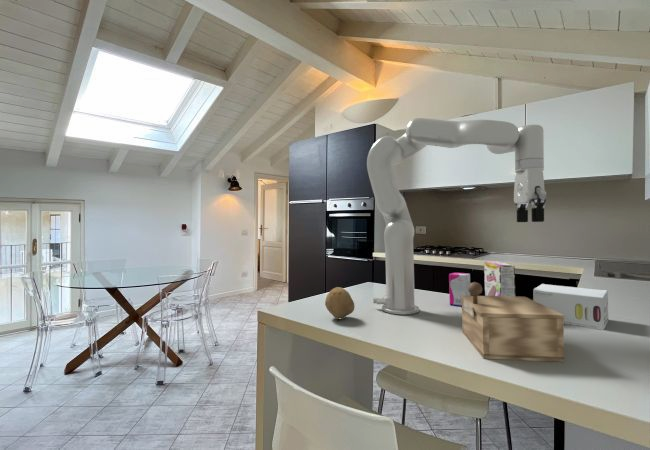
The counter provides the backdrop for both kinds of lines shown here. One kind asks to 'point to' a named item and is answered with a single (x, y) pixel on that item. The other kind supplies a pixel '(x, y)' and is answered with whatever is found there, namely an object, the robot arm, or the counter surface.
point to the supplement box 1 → (458, 287)
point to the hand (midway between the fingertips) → (529, 221)
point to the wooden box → (515, 337)
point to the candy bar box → (499, 279)
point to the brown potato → (339, 303)
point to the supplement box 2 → (575, 304)
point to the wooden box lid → (505, 306)
